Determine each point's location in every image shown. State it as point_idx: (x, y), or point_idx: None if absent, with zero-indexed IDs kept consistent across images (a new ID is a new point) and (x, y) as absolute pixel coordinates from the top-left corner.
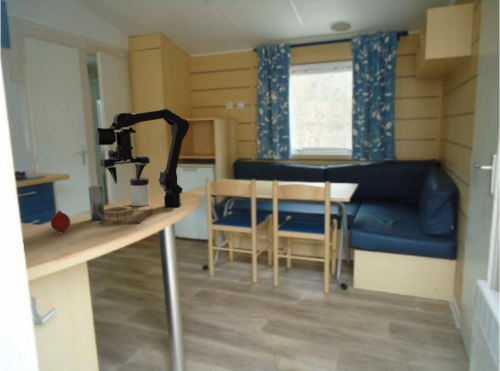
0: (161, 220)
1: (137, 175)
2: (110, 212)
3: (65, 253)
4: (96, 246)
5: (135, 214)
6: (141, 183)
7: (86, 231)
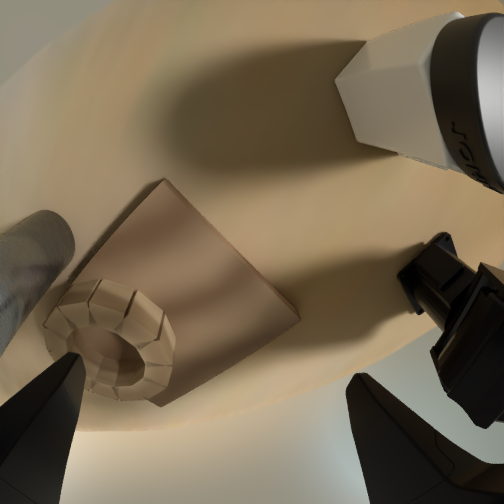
0: (236, 410)
1: (368, 440)
2: None
3: None
4: None
5: (188, 347)
6: (478, 180)
7: (16, 349)
